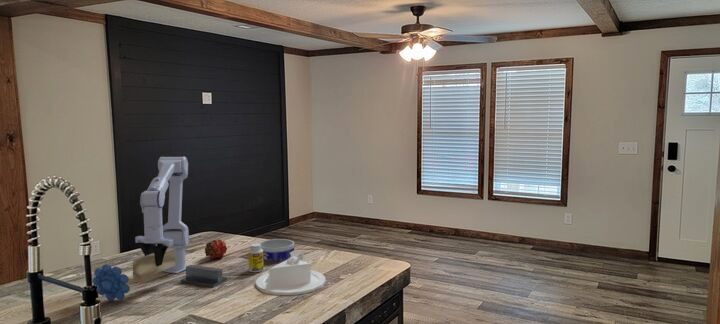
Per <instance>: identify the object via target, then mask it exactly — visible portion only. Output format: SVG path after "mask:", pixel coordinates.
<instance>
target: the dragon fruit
mask: <svg viewBox="0 0 720 324" xmlns="http://www.w3.org/2000/svg"><path fill="white" fill-rule="evenodd" d="M205 246H206V247H205V248H204V254H205V256H206V257H209V258H210V259H212V260H216V259H217V258H219V259H223V258H224V255H225V254H226V252H227V250H228V248H227V243H226V241H223V240H221V239H214V240H212V241H210V242H207V243H206V244H205Z"/></svg>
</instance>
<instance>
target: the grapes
mask: <svg viewBox="0 0 720 324" xmlns="http://www.w3.org/2000/svg"><path fill="white" fill-rule="evenodd" d="M93 274H94V277H93V278H92V280H91V283H92V284H93V286H95V285H96V286H95V287H97V288H98V293H97V294H98V295H99V296H105V299H106V300H108V301H110V302H112V301H114V300H115V299H117V300H119V301H121V300H123V299H124V298H125V297H126V295H125V294H127V293H129V292H130V289H131V288H130V286H129V284H128V282H129V276H128V275H126V274H123V273H122V269H121V268H120V267H118V266H113V267H112V266H111V265H110V264H107V263H105V264H103V265H102V267H99V268H95V270H94V271H93Z"/></svg>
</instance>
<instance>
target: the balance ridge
mask: <svg viewBox="0 0 720 324" xmlns="http://www.w3.org/2000/svg"><path fill="white" fill-rule="evenodd" d="M185 266H186V270H185V277H183V278H182V279H180V283H182V284H188V285H195V286H199V287H200V286H202V287H208V288H215V287H217V286H218V285H220V284H222V283H225V282H226V281H228V277H226V276H223V268H218V267H217V268H216V267H210V266H209V267H208V266H201V265H195V264H189V265H185Z"/></svg>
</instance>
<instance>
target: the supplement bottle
mask: <svg viewBox="0 0 720 324" xmlns="http://www.w3.org/2000/svg"><path fill="white" fill-rule="evenodd" d="M263 270H264V261H263V249H261V244H259V243H252V244H250V248H249V249H248V271H249V272H250V273H260V272H262V271H263Z"/></svg>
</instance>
